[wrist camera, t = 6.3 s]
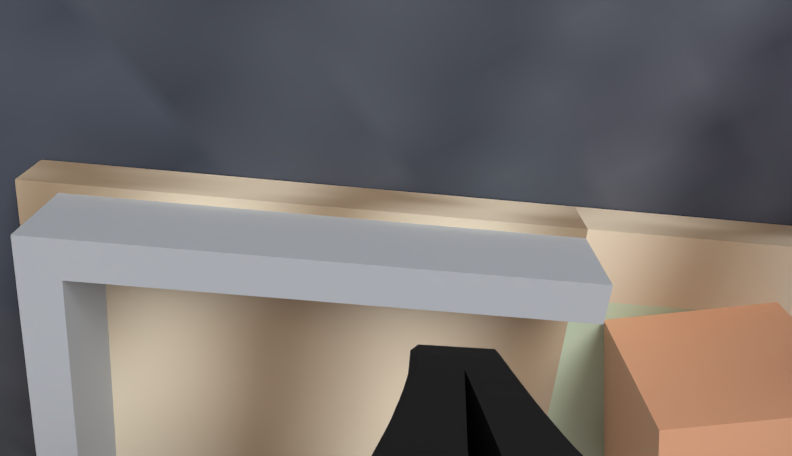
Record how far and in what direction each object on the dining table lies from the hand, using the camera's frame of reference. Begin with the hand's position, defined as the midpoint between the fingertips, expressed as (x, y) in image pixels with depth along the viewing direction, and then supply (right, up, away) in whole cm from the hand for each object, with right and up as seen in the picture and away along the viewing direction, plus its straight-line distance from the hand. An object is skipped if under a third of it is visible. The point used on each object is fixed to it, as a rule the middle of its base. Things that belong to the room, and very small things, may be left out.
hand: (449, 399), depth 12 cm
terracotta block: (+7, -2, +9) cm, 11 cm away
